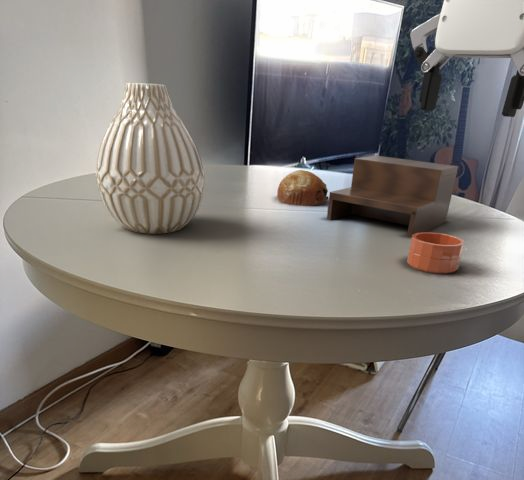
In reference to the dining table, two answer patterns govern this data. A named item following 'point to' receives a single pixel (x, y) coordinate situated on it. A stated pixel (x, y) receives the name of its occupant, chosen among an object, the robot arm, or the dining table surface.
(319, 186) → the bread roll
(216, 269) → the dining table surface
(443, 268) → the bowl
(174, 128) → the vase
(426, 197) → the shelf
